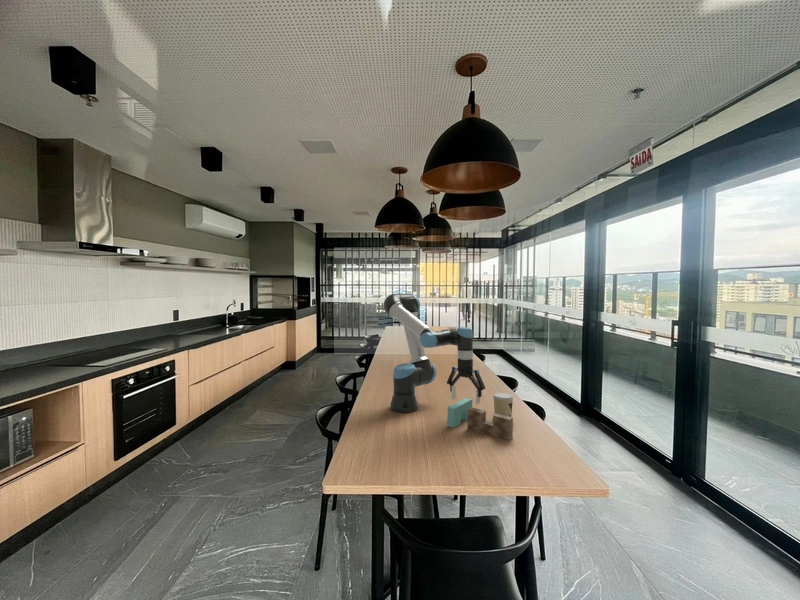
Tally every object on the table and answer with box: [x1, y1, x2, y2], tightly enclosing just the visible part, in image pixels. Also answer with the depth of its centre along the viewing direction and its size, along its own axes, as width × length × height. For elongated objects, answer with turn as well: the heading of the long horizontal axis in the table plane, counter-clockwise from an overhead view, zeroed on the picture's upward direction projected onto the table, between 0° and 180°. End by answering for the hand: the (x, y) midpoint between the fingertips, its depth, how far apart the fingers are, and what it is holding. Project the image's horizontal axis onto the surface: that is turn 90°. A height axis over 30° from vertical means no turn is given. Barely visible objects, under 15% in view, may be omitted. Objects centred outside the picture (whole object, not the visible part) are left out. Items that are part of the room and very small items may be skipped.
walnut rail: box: [466, 406, 514, 441], centre depth 152 cm, size 20×4×9 cm, turn 50°
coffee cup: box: [492, 392, 514, 417], centre depth 169 cm, size 9×9×12 cm
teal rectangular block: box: [447, 397, 473, 429], centre depth 166 cm, size 4×18×9 cm, turn 140°
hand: (465, 400), depth 169 cm, fingers open, 13 cm apart
